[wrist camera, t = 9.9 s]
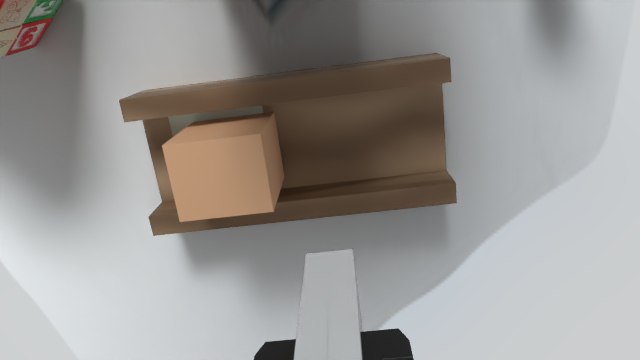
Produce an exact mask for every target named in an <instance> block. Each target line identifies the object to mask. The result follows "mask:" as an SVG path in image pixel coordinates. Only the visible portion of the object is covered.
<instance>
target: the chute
mask: <svg viewBox="0 0 640 360" xmlns="http://www.w3.org/2000/svg"><path fill="white" fill-rule="evenodd" d="M445 82H451V68H450V58H448V57H445V56H443V55H440V54H437V53H434V54H426V55H418V56H410V57H402V58H395V59H387V60H379V61H371V62H363V63H355V64H348V65H340V66H332V67H324V68H316V69H309V70H301V71H293V72H285V73H277V74H269V75H262V76H254V77H246V78H238V79H230V80H222V81H215V82H207V83H199V84H191V85H183V86H176V87H168V88H160V89H152V90H144V91H141V92H139V93H136V94H134V95H131V96H129V97H126V98H123V99H121V100H119V102H120V106H121V110H122V114H123V118H124V122H130V121H138V120H143V124H144V128H145V133H146V137H147V141H148V145H149V149H150V153H151V157H152V161H153V166H154V170H155V174H156V178H157V182H158V186H159V190H160V194H161V198H162V203H161V204H160V205H159V206H158V207H157V208H156V209H155V210H154V212H153V213H152V214H151V215H150V216H149V220H150V224H151V228H152V232H153V236H155V235H164V234H173V233H183V232H192V231H201V230H210V229H220V228H229V227H238V226H248V225H257V224H266V223H276V222H285V221H294V220H303V219H313V218H322V217H331V216H341V215H350V214H359V213H369V212H378V211H387V210H397V209H406V208H415V207H424V206H434V205H443V204H452V203H457V202H456V183H455V181H454V180H453V179H452V177H451V176H450V174H449V173H448V172H447V170H446V152H445V132H444V112H443V93H442V83H445ZM268 112H274V114H275V120H276V126H277V133H278V139H279V145H280V152H281V158H282V164H283V171H284V180H283V183H282V187H281V190H280V193H279V196H278V199H277V203H276V206H275V209H274V212H267V213H258V214H249V215H240V216H231V217H221V218H212V219H203V220H194V221H185V222H180V221H179V217H178V212H177V208H176V204H175V200H174V195H173V191H172V187H171V183H170V178H169V174H168V170H167V165H166V161H165V157H164V153H163V148H162V145H163V144H164V143H166V142H167V141H168V140H170V139H171V138H172V137H174V136H175V135H176V134H178V133H179V132H180V131H182V130H183V129H184V128H186V127H187V126H188V125H190V124H191V123H192V122H195V121H203V120H211V119H220V118H228V117H236V116H244V115H252V114H260V113H268Z"/></svg>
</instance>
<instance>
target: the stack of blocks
mask: <svg viewBox="0 0 640 360" xmlns="http://www.w3.org/2000/svg"><path fill="white" fill-rule="evenodd" d="M62 1H63V0H0V57H3V56H7V55H11V54H14V53H18V52H20V51H23V50H27V49H30V48H33V47H35V46H36V45H37V43H38V42H39V40H40V38H41V37H42V35H43V33H44V32H45V30H46V29H47V27H48V25H49V23H50V22H51V20H52V16H53V15H54V14H55V12H56V11H57V9H58V8H59V6H60V4H61V3H62Z"/></svg>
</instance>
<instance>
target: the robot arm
mask: <svg viewBox="0 0 640 360" xmlns="http://www.w3.org/2000/svg"><path fill="white" fill-rule="evenodd" d="M254 360H414V359H413V355H412V351H411V346H410V342H409V340H408V339H407V338H406V336H405V335H404V334H403V333H402V332H401V331H400V330H399V329H388V330H377V331H366V332H362V322H361V313H360V305H359V296H358V288H357V279H356V271H355V263H354V254H353V249H347V250H337V251H327V252H318V253H308V254H306V258H305V266H304V275H303V284H302V292H301V301H300V310H299V318H298V327H297V336H296V339H294V340H283V341H272V342H265V343H264V345H263V346H262V347H261V348H260V350H259V351H258V352H257V353H256V355H255V357H254Z"/></svg>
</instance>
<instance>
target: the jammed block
mask: <svg viewBox="0 0 640 360" xmlns="http://www.w3.org/2000/svg"><path fill="white" fill-rule="evenodd" d="M162 148H163V153H164V157H165V161H166V165H167V170H168V174H169V178H170V183H171V187H172V191H173V195H174V200H175V204H176V208H177V212H178V217H179V221H180V222H185V221H194V220H203V219H212V218H221V217H231V216H240V215H249V214H258V213H267V212H274V209H275V206H276V203H277V199H278V196H279V193H280V190H281V187H282V183H283V180H284V171H283V164H282V158H281V152H280V145H279V139H278V133H277V126H276V120H275V114H274V112H268V113H260V114H252V115H244V116H236V117H228V118H220V119H211V120H203V121H195V122H192V123H191V124H190V125H188V126H187V127H186V128H184V129H183V130H182V131H180V132H179V133H178V134H176V135H175V136H174V137H172V138H171V139H170V140H168V141H167V142H166V143H164V144H163V145H162Z"/></svg>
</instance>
